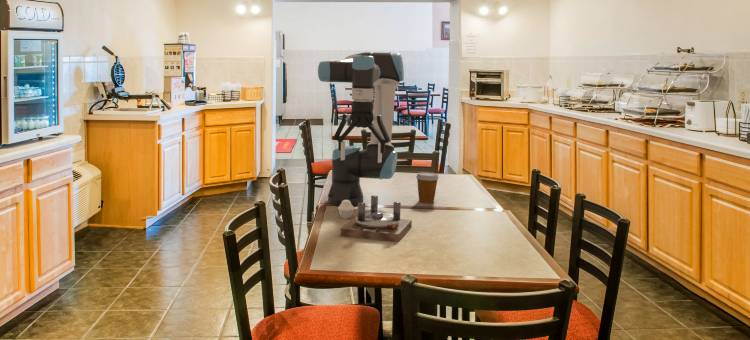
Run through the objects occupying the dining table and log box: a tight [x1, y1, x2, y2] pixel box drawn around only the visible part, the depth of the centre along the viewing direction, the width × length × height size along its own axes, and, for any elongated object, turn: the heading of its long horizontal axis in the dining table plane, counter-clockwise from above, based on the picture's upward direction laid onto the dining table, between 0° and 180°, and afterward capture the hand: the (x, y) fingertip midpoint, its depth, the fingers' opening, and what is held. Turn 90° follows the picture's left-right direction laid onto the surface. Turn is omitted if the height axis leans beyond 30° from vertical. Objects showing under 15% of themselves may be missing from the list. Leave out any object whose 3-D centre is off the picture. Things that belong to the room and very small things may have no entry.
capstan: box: [355, 195, 402, 229], centre depth 206 cm, size 16×15×8 cm
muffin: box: [337, 200, 355, 220], centre depth 224 cm, size 6×6×7 cm
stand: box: [339, 216, 413, 243], centre depth 206 cm, size 20×20×3 cm
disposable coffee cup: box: [415, 171, 439, 204], centre depth 254 cm, size 10×10×12 cm
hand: (361, 161), depth 212 cm, fingers open, 13 cm apart
